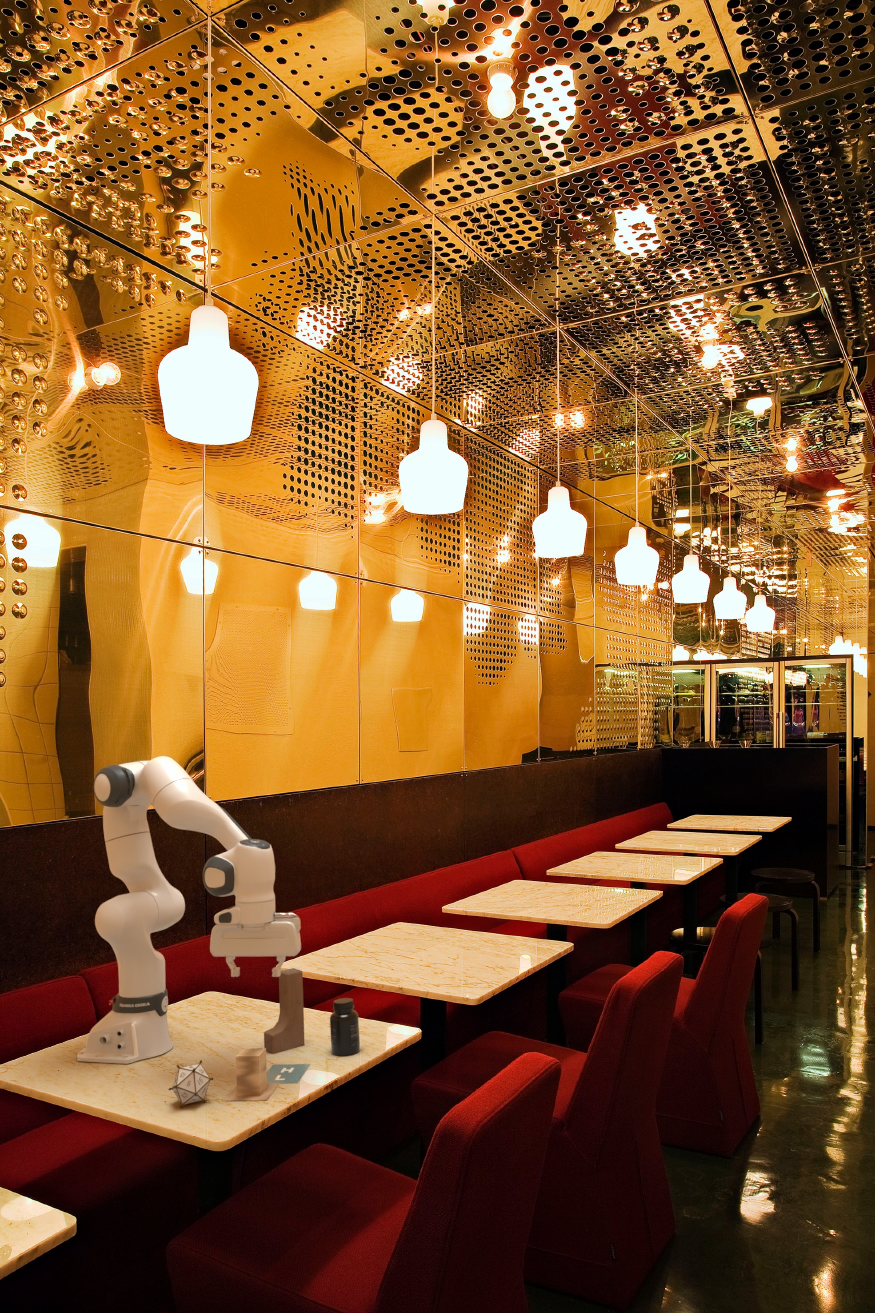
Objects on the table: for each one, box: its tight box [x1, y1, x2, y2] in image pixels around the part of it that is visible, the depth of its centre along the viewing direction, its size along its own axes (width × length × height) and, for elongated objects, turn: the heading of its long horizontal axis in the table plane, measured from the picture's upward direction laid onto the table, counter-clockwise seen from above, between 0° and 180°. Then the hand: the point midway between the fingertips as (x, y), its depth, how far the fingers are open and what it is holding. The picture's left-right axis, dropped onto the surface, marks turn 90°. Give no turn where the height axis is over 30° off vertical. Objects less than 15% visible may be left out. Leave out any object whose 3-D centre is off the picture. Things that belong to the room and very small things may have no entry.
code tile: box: [267, 1063, 311, 1085], centre depth 195 cm, size 9×12×1 cm
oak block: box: [235, 1047, 268, 1096], centre depth 185 cm, size 5×5×8 cm
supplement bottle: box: [329, 997, 361, 1057], centre depth 208 cm, size 7×7×12 cm
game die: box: [167, 1059, 215, 1109], centre depth 181 cm, size 9×8×10 cm
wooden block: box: [263, 967, 305, 1055], centre depth 214 cm, size 9×4×18 cm, turn 129°
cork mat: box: [224, 1084, 280, 1103], centre depth 184 cm, size 9×9×1 cm
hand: (255, 976), depth 194 cm, fingers open, 8 cm apart
